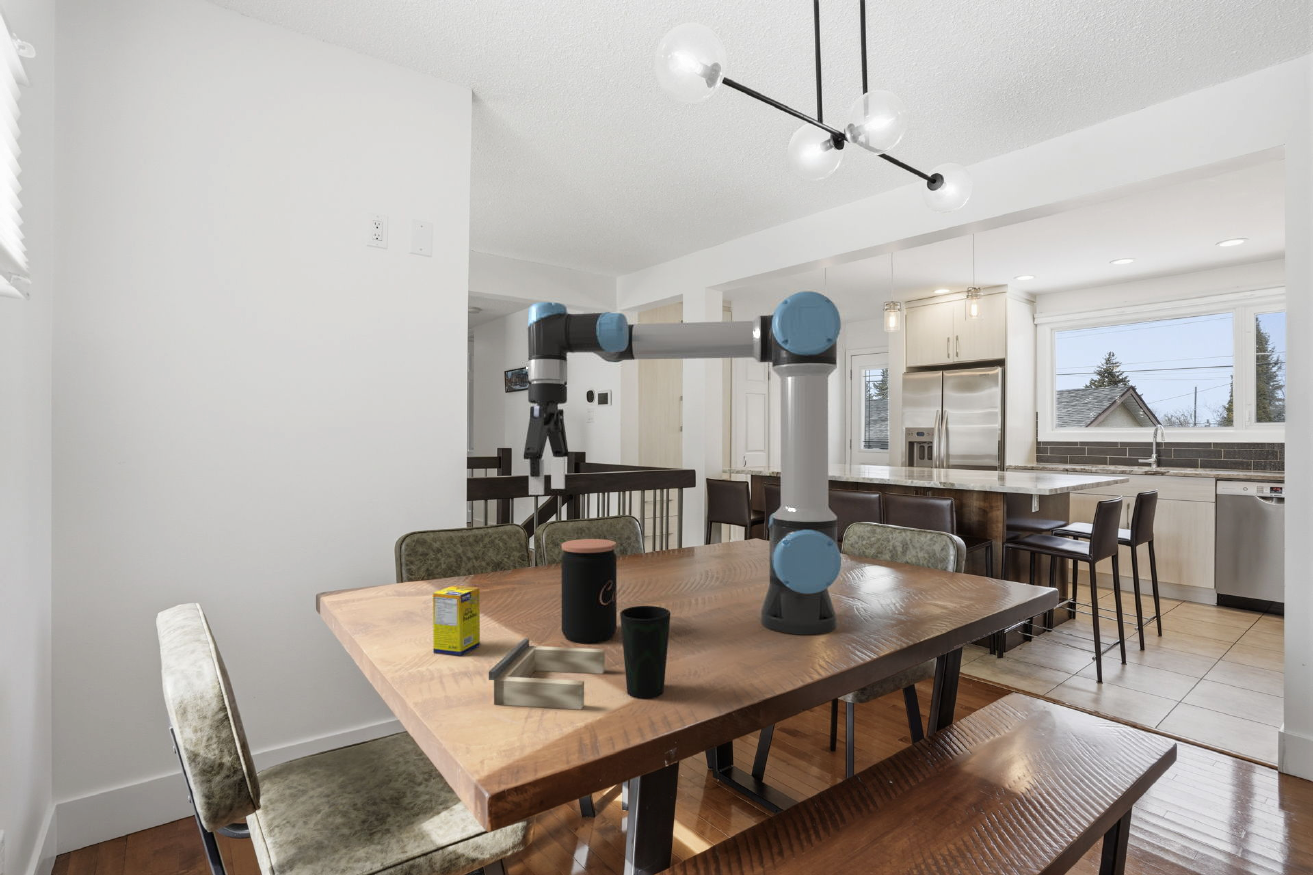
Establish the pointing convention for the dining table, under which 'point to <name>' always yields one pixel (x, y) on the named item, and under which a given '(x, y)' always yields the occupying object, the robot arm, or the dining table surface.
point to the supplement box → (456, 620)
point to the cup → (645, 649)
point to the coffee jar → (589, 590)
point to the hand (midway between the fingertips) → (547, 491)
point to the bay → (544, 692)
